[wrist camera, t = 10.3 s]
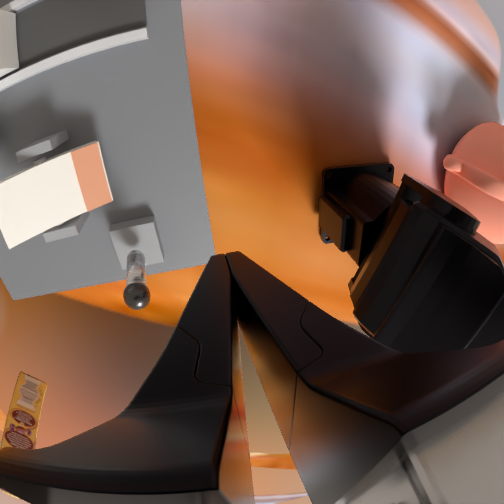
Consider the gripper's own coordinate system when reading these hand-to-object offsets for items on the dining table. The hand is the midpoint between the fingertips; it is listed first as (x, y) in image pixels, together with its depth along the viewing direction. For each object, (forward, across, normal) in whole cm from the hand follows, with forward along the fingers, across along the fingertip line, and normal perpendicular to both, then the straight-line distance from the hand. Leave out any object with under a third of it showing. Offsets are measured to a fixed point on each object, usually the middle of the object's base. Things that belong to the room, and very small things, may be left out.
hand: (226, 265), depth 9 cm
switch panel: (+13, +9, -4) cm, 16 cm away
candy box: (+13, +28, +24) cm, 39 cm away
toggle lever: (+9, +5, +4) cm, 11 cm away
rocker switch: (+8, +9, -1) cm, 13 cm away
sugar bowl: (+13, -26, +3) cm, 29 cm away
